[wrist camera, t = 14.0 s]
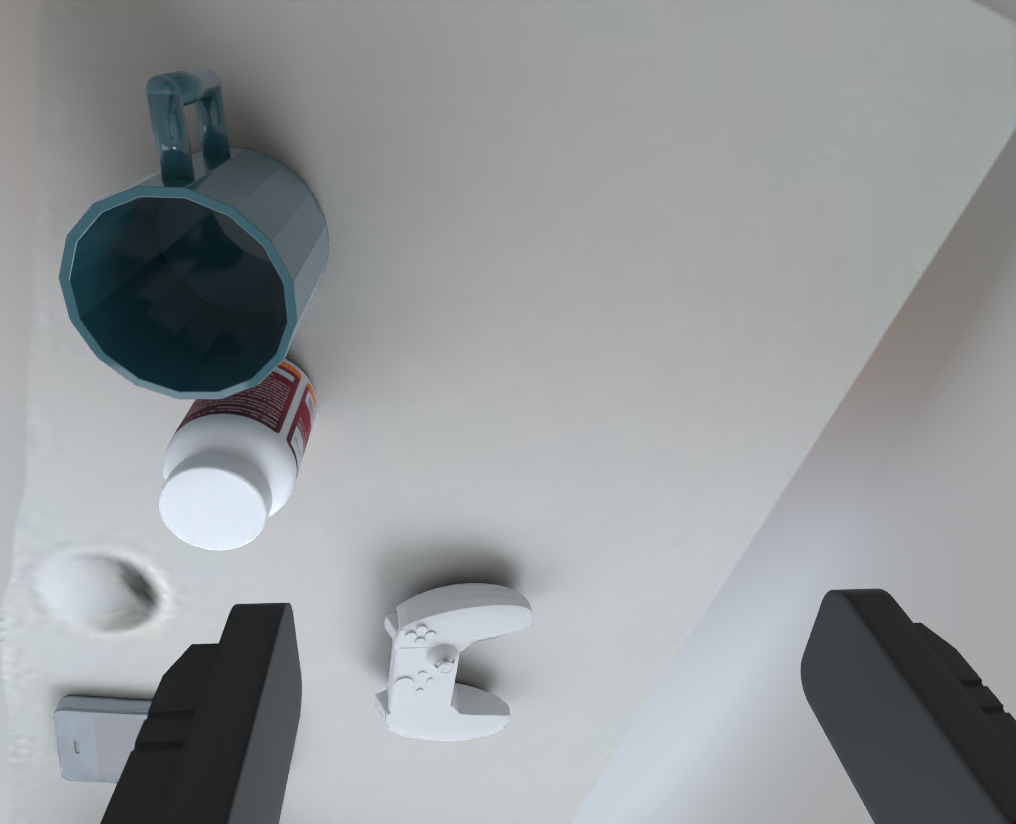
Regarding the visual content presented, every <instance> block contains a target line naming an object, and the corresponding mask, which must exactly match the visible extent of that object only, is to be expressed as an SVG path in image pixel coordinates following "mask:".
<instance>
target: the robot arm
mask: <svg viewBox="0 0 1016 824" xmlns="http://www.w3.org/2000/svg"><path fill="white" fill-rule="evenodd" d="M801 680H802V685H803V690H804V693H805V696H806V698H807V701H808V703H809V705H810V706H811V708H812V710H813V712H814V714H815V715H816V717H817V719H818V721H819V723H820V725H821V726H822V728H823V730H824V732H825V734H826V736H827V737H828V739H829V741H830V743H831V745H832V747H833V748H834V750H835V752H836V754H837V756H838V757H839V759H840V761H841V763H842V765H843V767H844V768H845V770H846V772H847V774H848V775H849V778H850V779H851V781H852V783H853V785H854V787H855V788H856V790H857V792H858V794H859V795H860V798H861V799H862V801H863V803H864V805H865V806H866V808H867V810H868V812H869V814H870V816H871V818H872V819H873V821H874V823H875V824H1016V720H1015V719H1014V718H1013V717H1012V716H1011V714H1010V713H1005V712H1004V710H1003V705H1002V704H1001V702H1000V701H999V700H998V699H997V697H996V696H995V695H994V694H993V693H992V692H991V690H990V689H989V688H988V687H987V686H983V685H982V680H981V678H979V676H978V675H977V673H976V672H975V671H974V670H973V669H972V668H971V666H970V665H969V664H968V663H967V661H966V660H965V659H964V658H963V657H962V655H961V654H960V653H959V652H958V651H957V649H955V648H954V647H952V646H951V645H950V644H949V643H947V642H946V641H945V640H943V639H942V638H941V637H939V636H938V635H937V634H935V633H934V632H932V631H931V630H930V629H929V628H927V627H926V626H925V625H923V624H922V623H913V622H912V621H911V620H910V618H909V617H908V616H907V615H906V613H905V612H904V611H903V610H902V608H901V607H900V606H899V605H898V603H897V602H896V601H895V600H894V598H893V597H892V596H891V595H890V594H889V593H888V592H886V591H884V590H882V589H850V590H849V589H847V590H831V591H829V592H828V593H826V595H825V596H824V598H823V600H822V603H821V606H820V609H819V612H818V615H817V617H816V620H815V623H814V626H813V629H812V632H811V634H810V637H809V640H808V643H807V646H806V649H805V652H804V654H803V658H802V662H801ZM301 697H302V680H301V670H300V662H299V655H298V648H297V640H296V633H295V625H294V618H293V611H292V607H291V604H290V603H261V604H236V605H234V606H233V608H232V609H231V611H230V614H229V616H228V619H227V622H226V625H225V628H224V630H223V633H222V636H221V639H220V642H219V644H192V645H191V646H190V647H189V648H188V649H187V650H186V651H185V652H184V653H183V655H182V656H181V657H180V658H179V659H178V660H177V661H176V662H175V663H174V664H173V665H172V666H171V668H170V669H169V670H168V671H167V672H166V673H165V674H164V675H163V677H162V679H161V681H160V684H159V686H158V689H157V691H156V693H155V696H154V698H153V700H152V703H151V705H150V707H149V710H148V716H147V719H146V720H144V722H143V724H142V726H141V729H140V731H139V734H138V736H137V738H136V741H135V747H134V750H133V751H131V752H130V755H129V757H128V760H127V762H126V764H125V767H124V769H123V771H122V774H121V776H120V778H119V781H118V783H117V786H116V788H115V790H114V793H113V795H112V797H111V800H110V802H109V804H108V807H107V809H106V812H105V814H104V816H103V819H102V821H101V823H100V824H279V819H280V814H281V809H282V804H283V799H284V794H285V789H286V784H287V779H288V774H289V769H290V764H291V759H292V754H293V749H294V744H295V739H296V734H297V729H298V724H299V718H300V710H301Z"/></svg>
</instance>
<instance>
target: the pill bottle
mask: <svg viewBox="0 0 1016 824" xmlns="http://www.w3.org/2000/svg"><path fill="white" fill-rule="evenodd" d="M316 406H317V402H316V395H315V391H314V388H313V386H312V384H311V382H310V380H309V379H308V377H307V376H306V375H305V373H304V372H303V371H302V370H301V369H300V368H299V367H297V366H296V365H295V364H293V363H292V362H290V361H289V360H287V359H284V360H283V361H282V362H281V363H280V364H279V365H278V366H277V367H276V368H275V369H274V370H273V371H272V372H271V373H270V374H269V375H268V376H267V377H266V378H265V379H264V380H263V381H262V382H261V383H260V384H259V385H257V386H255V387H252V388H250V389H247V390H244V391H242V392H239V393H236V394H234V395H231V396H228V397H226V398H223V399H196V400H195V402H194V403H193V405H192V406H191V408H190V410H189V411H188V413H187V415H186V416H185V418H184V419H183V421H182V423H181V424H180V426H179V427H178V429H177V430H176V432H175V434H174V435H173V437H172V439H171V441H170V442H169V444H168V446H167V448H166V451H165V454H164V458H163V476H164V480H165V484H164V486H163V487H162V489H161V492H160V495H159V511H160V514H161V517H162V519H163V521H164V523H165V524H166V525H167V527H168V528H169V529H170V530H171V531H172V532H173V533H174V534H175V535H176V536H177V537H179V538H180V539H182V540H184V541H185V542H187V543H189V544H192V545H194V546H197V547H200V548H204V549H210V550H229V549H234V548H238V547H240V546H243V545H245V544H247V543H249V542H250V541H252V540H253V539H254V538H256V537H257V536H258V534H259V533H260V532H261V531H262V529H263V527H264V525H265V523H266V521H267V518H268V517H270V516H271V515H273V514H274V513H276V512H277V511H278V510H279V509H280V508H281V507H282V506H283V505H284V504H285V502H286V501H287V500H288V498H289V496H290V494H291V493H292V490H293V487H294V484H295V482H296V478H297V475H298V471H299V468H300V465H301V461H302V458H303V455H304V452H305V448H306V445H307V441H308V438H309V435H310V432H311V429H312V425H313V422H314V419H315V414H316Z"/></svg>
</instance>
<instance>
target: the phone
mask: <svg viewBox="0 0 1016 824" xmlns="http://www.w3.org/2000/svg"><path fill="white" fill-rule="evenodd" d="M151 703H152V701H150V700H134V699H118V698H102V697H86V696H66V697H65V698H63V699H62V700H61V701H60V703H59V705H58V707H57V708H56V710H55V712H54V722H55V730H56V737H57V745H58V752H59V760H60V767H61V774H62V777H63V778H65V779H67V780H70V781H86V782H109V783H118V781H119V778H120V776H121V774H122V771H123V769H124V767H125V764H126V762H127V760H128V757H129V755H130V752H131V751H133V750H134V747H135V741H136V738H137V736H138V734H139V731H140V729H141V726H142V724H143V722H144V720H146V719H147V716H148V710H149V707H150V705H151Z"/></svg>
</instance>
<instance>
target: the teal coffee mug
mask: <svg viewBox="0 0 1016 824" xmlns="http://www.w3.org/2000/svg"><path fill="white" fill-rule="evenodd" d="M146 97H147V102H148V108H149V113H150V119H151V124H152V129H153V135H154V140H155V146H156V151H157V157H158V162H159V168H160V170H158V171H156V172H154V173H152V174H150V175H149V176H147V177H145V178H143V179H141V180H139V181H137V182H135V183H133V184H131V185H129V186H127V187H125V188H123V189H121V190H119V191H117V192H115V193H113V194H111V195H109V196H107V197H105V198H103V199H101V200H99V201H97V202H95V203H94V204H93V205H92V206H91V207H90V208H89V209H88V211H87V212H86V213H85V214H84V215H83V217H82V218H81V219H80V220H79V222H78V223H77V224H76V225H75V226H74V228H73V229H72V230H71V231H70V232H69V234H68V235H67V237H66V242H65V247H64V252H63V258H62V263H61V268H60V274H59V281H60V284H61V288H62V292H63V296H64V299H65V303H66V307H67V311H68V314H69V318H70V320H71V322H72V324H73V325H74V327H75V328H76V329H77V331H78V332H79V333H80V335H81V336H82V338H83V339H84V340H85V342H86V343H87V344H88V346H89V347H90V348H91V350H92V351H93V353H94V354H95V355H96V357H98V359H100V360H101V361H102V362H104V363H105V364H107V365H108V366H109V367H111V368H112V369H114V370H115V371H116V372H118V373H119V374H121V375H122V376H123V377H125V378H126V379H127V380H129V381H130V382H132V383H133V384H135V385H137V386H140V387H143V388H146V389H149V390H152V391H155V392H158V393H161V394H164V395H167V396H170V397H173V398H176V399H223V398H226V397H228V396H231V395H234V394H236V393H239V392H242V391H244V390H247V389H250V388H252V387H255V386H257V385H259V384H260V383H261V382H262V381H263V380H264V379H265V378H266V377H267V376H268V375H269V374H270V373H271V372H272V371H273V370H274V369H275V368H276V367H277V366H278V365H279V364H280V363H281V362H282V361H283V360H284V359H285V357H286V355H287V353H288V351H289V349H290V347H291V344H292V342H293V340H294V338H295V336H296V334H297V331H298V329H299V327H300V325H301V323H302V321H303V318H304V316H305V314H306V312H307V310H308V308H309V305H310V303H311V301H312V299H313V297H314V294H315V292H316V290H317V288H318V286H319V283H320V280H321V277H322V274H323V272H324V270H325V266H326V263H327V260H328V251H329V238H328V231H327V226H326V222H325V218H324V215H323V213H322V211H321V208H320V206H319V204H318V202H317V200H316V199H315V197H314V195H313V194H312V192H311V191H310V190H309V188H308V187H307V186H306V185H305V183H304V182H303V181H302V180H301V179H300V178H299V177H298V176H297V175H296V174H295V173H293V172H292V171H291V170H290V169H289V168H287V167H286V166H284V165H283V164H281V163H280V162H278V161H276V160H275V159H273V158H271V157H269V156H267V155H264V154H261V153H259V152H256V151H252V150H248V149H244V148H235V147H229V140H228V132H227V125H226V117H225V110H224V103H223V95H222V88H221V82H220V79H219V77H218V75H217V74H216V73H215V72H214V71H213V70H211V69H208V68H198V69H192V70H185V71H179V72H173V73H167V74H161V75H156V76H153V77H151V78H150V79H149V80H148V82H147V84H146ZM192 103H195V109H196V115H197V122H198V128H199V135H200V141H201V148H202V151H200V152H197V153H195V154H193V155H191V151H190V144H189V138H188V132H187V126H186V119H185V113H184V107H183V106H185V105H189V104H192Z"/></svg>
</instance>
